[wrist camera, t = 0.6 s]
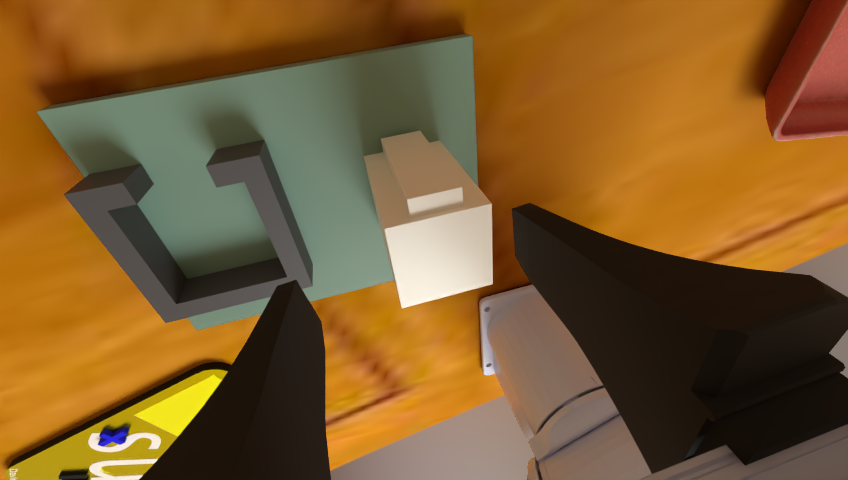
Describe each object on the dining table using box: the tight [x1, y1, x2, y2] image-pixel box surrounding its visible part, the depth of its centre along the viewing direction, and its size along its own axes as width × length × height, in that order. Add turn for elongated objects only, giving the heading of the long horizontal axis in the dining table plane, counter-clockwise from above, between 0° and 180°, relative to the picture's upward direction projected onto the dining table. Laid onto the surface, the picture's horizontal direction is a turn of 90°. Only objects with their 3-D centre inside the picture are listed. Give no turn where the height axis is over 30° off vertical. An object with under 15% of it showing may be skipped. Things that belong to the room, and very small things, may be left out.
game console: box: [5, 362, 232, 480], centre depth 28 cm, size 18×11×2 cm, turn 115°
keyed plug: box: [364, 131, 493, 308], centre depth 17 cm, size 5×4×7 cm
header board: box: [36, 34, 478, 330], centre depth 19 cm, size 13×18×3 cm
